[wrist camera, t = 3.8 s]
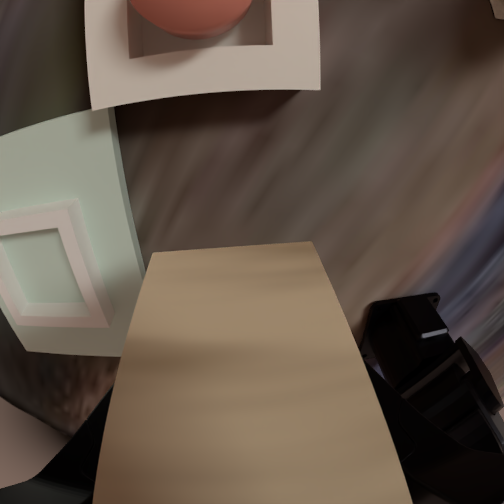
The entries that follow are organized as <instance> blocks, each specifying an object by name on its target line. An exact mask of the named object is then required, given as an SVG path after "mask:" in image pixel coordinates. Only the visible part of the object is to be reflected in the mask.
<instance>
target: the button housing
mask: <svg viewBox="0 0 504 504" xmlns="http://www.w3.org/2000/svg"><path fill="white" fill-rule="evenodd" d="M85 38H86V55H87V68H88V80H89V89H90V98H91V106H92V111H94V110H99V109H104V108H108V107H113V106H118V105H123V104H129V103H134V102H140V101H146V100H153V99H159V98H167V97H174V96H182V95H191V94H201V93H212V92H226V91H243V90H282V89H288V90H320V34H319V9H318V0H252V3H251V6H250V8H249V10H248V12H247V14H246V15H245V16H244V18H243V19H242V20H241V21H240V22H239V23H238V24H237V25H236V26H235V27H233V28H232V29H230V30H229V31H227V32H225V33H223V34H221V35H218V36H215V37H212V38H207V39H199V40H191V39H183V38H179V37H176V36H173V35H171V34H169V33H167V32H165V31H164V30H162V29H161V28H159V27H158V26H156V25H155V24H153V23H152V22H150V21H148V20H147V19H145V18H144V17H143V16H142V15H140V14H139V13H138V12H137V10H136V9H135V8H134V6H133V5H132V3H131V1H130V0H85Z"/></svg>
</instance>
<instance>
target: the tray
mask: <svg viewBox="0 0 504 504" xmlns="http://www.w3.org/2000/svg"><path fill="white" fill-rule="evenodd" d="M145 274H146V271H145V267H144V263H143V259H142V255H141V251H140V247H139V243H138V238H137V234H136V230H135V225H134V221H133V216H132V211H131V207H130V202H129V197H128V192H127V187H126V181H125V176H124V170H123V164H122V158H121V152H120V146H119V139H118V133H117V125H116V118H115V110H114V106H113V107H108V108H104V109H99V110H94V111H92V109H88V110H84V111H80V112H76V113H72V114H68V115H65V116H61V117H57V118H54V119H50V120H47V121H44V122H40V123H37V124H34V125H31V126H28V127H25V128H22V129H19V130H16V131H13V132H10V133H8V134H5V135H2V136H0V307H1V309H2V311H3V313H4V315H5V316H6V318H7V320H8V322H9V323H10V325H11V327H12V328H13V330H14V332H15V333H16V335H17V337H18V338H19V340H20V341H21V343H22V345H23V346H24V348H25V349H26V351H32V352H43V353H55V354H69V355H87V356H113V357H121V356H122V352H123V348H124V344H125V341H126V337H127V333H128V330H129V326H130V323H131V320H132V316H133V313H134V309H135V306H136V303H137V300H138V296H139V293H140V290H141V287H142V284H143V280H144V277H145Z"/></svg>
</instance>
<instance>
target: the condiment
mask: <svg viewBox="0 0 504 504" xmlns="http://www.w3.org/2000/svg"><path fill="white" fill-rule="evenodd" d="M490 2H491V4H492V8H493V11H494V15H495V18H497V19H504V0H490Z"/></svg>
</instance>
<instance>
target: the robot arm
mask: <svg viewBox="0 0 504 504" xmlns="http://www.w3.org/2000/svg"><path fill="white" fill-rule="evenodd" d="M439 301H440V296H439V295H438V293H430V294H423V295H417V296H411V297H404V298H397V299H390V300H383V301H377V302H375V303H373V304H372V306H371V308H370V312H369V316H368V320H367V323H366V327H365V331H364V334H363V338H362V341H361V345H360V348H359V352H360V355H361V357H362V360H363V362H364V365H365V367H366V370H367V372H368V375H369V378H370V380H371V383H372V385H373V388H374V391H375V393H376V396H377V399H378V401H379V404H380V407H381V410H382V412H383V415H384V418H385V421H386V423H387V426H388V429H389V432H390V435H391V438H392V441H393V443H394V446H395V449H396V452H397V455H398V458H399V461H400V464H401V467H402V471H403V474H404V477H405V480H406V483H407V486H408V490H409V493H410V496H411V499H412V503H413V504H504V422H503V419H502V417H501V416H500V414H499V412H498V411H500V410H501V409H502V408H503V407H504V405H503V402H502V399H501V397H500V394H499V392H498V389H497V387H496V385H495V382H494V380H493V378H492V375H491V373H490V372H489V370H488V368H487V367H486V365H485V364H484V362H483V361H482V359H481V358H480V356H479V355H478V353H477V352H476V351H475V350H474V349H473V348H472V347H471V346H470V345H469V344H468V343H467V342H466V341H465V340H464V339H463V338H462V337H461V336H460V337H459V338H458V339H457V340H456V341H455V343H454V342H453V340H452V338H451V337H450V335H449V334H448V331H449V329H448V328H447V326H446V325H445V323H444V322H443V320H442V319H441V317H440V316H439V314H438V313H437V311H436V308H437V306H438V303H439ZM375 357H376V359H377V361H378V364H379V366H380V369H381V371H382V373H383V376H384V378H385V379H384V378H382V377H381V376H380V375H379V374H378V373H377V372H376V371H375V370H374V369H373V368H372V367H371V366H370V365H369V364H368V363H367V362H366V361H365V360H364V359H369V358H375ZM468 370H469V371H468ZM467 371H468V372H467ZM466 372H467V373H466ZM114 383H115V382H114ZM113 388H114V384H113V385H112V386H111V388H110V389H109V390H108V392H107V393H106V394H105V395H104V397H103V398H102V399H101V401H100V402H99V403H98V405H97V406H96V407H95V409H94V410H93V411H92V412H91V414H90V415H89V416H88V418H87V420H85V422H84V423H83V424H82V426H81V427H80V428H79V429H78V431H77V432H76V433H75V434H74V436H73V437H72V438H71V439H70V440H69V442H68V443H67V444H66V445H65V446H64V447H63V448H62V449H61V450H60V452H59V453H58V454H57V455H56V456H55V457H54V458H53V459H52V460H51V461H50V462H49V463H48V464H47V465H46V466H45V467H44V468H43V469H42V471H41V472H39V473H38V474H37V475H36V476H35V477H33V478H32V479H29V480H28V481H25V482H22V483H18V484H15V485H12V486H8V487H5V488H1V489H0V504H92V503H93V495H94V488H95V481H96V474H97V468H98V462H99V456H100V450H101V445H102V439H103V434H104V429H105V424H106V419H107V414H108V410H109V405H110V401H111V396H112V392H113Z"/></svg>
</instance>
